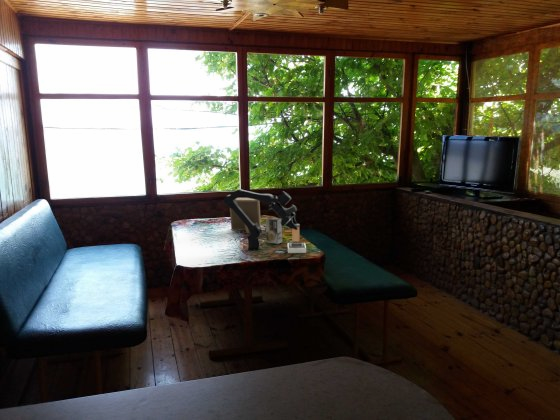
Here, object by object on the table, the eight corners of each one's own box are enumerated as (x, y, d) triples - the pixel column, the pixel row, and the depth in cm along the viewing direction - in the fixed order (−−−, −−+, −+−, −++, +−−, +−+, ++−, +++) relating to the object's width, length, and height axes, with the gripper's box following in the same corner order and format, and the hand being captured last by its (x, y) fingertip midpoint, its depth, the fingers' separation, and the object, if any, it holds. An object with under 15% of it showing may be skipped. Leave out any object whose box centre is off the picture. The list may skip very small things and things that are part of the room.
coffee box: (282, 242, 280) (282, 218, 277) (277, 244, 275) (277, 220, 272) (271, 240, 285) (270, 217, 282) (265, 242, 279) (265, 218, 277)
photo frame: (232, 228, 321) (231, 196, 316) (260, 229, 318) (260, 196, 314) (228, 233, 306) (227, 199, 301) (258, 234, 304) (257, 199, 299)
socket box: (288, 253, 254) (287, 247, 254) (287, 247, 266) (287, 242, 265) (306, 252, 254) (306, 247, 254) (304, 247, 266) (304, 242, 266)
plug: (292, 241, 257) (291, 225, 255) (292, 239, 261) (291, 223, 260) (299, 241, 257) (299, 225, 255) (299, 239, 261) (299, 223, 259)
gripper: (285, 203, 247) (304, 222, 246) (292, 198, 265) (309, 216, 264) (273, 216, 250) (291, 235, 249) (280, 211, 268) (297, 228, 267)
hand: (297, 228), depth 257 cm, fingers closed on plug, 5 cm apart
